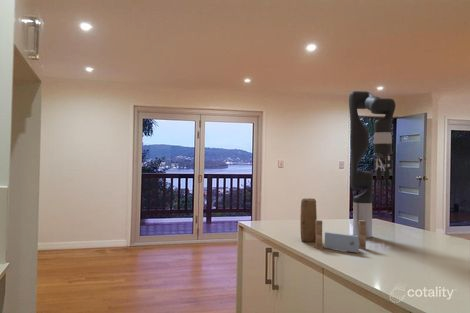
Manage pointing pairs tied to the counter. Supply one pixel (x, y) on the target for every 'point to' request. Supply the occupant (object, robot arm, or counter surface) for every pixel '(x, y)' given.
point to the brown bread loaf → (308, 220)
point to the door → (342, 242)
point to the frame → (360, 233)
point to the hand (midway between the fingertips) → (382, 179)
